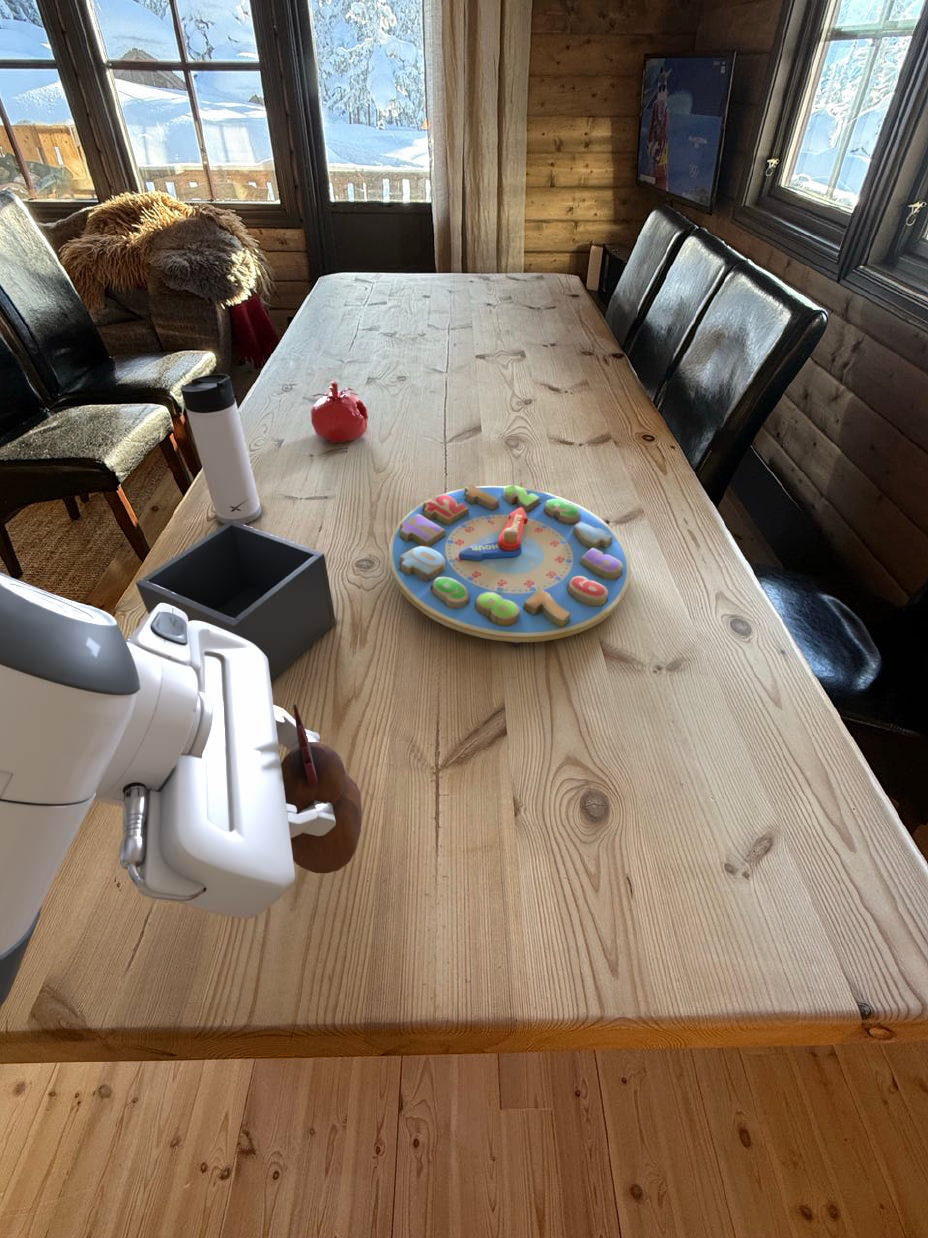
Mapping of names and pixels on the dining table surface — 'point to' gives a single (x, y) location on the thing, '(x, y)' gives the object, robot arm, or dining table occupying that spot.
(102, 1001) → the dining table surface
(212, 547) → the tote
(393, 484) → the dining table surface
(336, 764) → the wooden figurine
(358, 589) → the dining table surface
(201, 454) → the travel mug
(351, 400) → the pomegranate
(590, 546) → the shape sorting clock
